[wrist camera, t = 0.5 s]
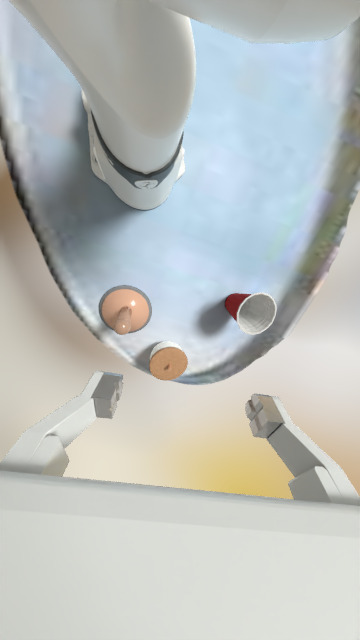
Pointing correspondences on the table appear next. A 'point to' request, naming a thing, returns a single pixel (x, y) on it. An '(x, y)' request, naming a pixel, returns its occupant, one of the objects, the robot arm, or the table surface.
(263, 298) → the plastic cup
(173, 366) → the lidded jar
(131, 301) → the lid
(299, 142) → the table surface
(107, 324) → the coaster
